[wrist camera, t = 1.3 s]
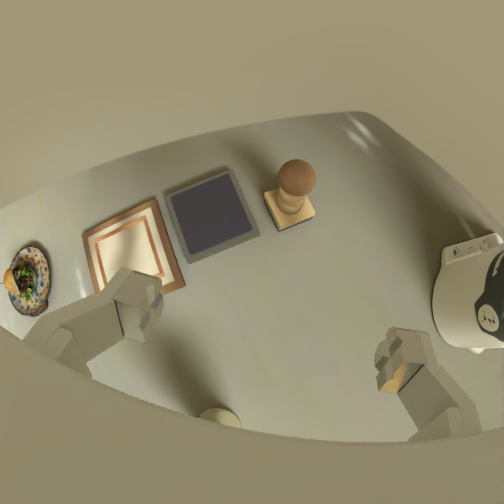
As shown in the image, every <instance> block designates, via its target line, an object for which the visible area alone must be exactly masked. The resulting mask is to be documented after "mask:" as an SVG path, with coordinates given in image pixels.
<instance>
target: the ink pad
mask: <svg viewBox="0 0 504 504" xmlns="http://www.w3.org/2000/svg"><path fill="white" fill-rule="evenodd" d="M165 198H166V201H167V204H168V207H169V210H170V213H171V216H172V219H173V222H174V225H175V228H176V231H177V234H178V237H179V240H180V243H181V246H182V249H183V251H184V254H185V257H186V260H187V262H188V263H189V264H191V263H194V262H196V261H199V260H201V259H203V258H206V257H208V256H211V255H213V254H216V253H218V252H221V251H223V250H225V249H228V248H230V247H233V246H235V245H238V244H240V243H243V242H245V241H248V240H250V239H253V238H255V237H257V236H260V232H259V229H258V227H257V225H256V222H255V220H254V218H253V216H252V213H251V211H250V209H249V206H248V204H247V202H246V200H245V197H244V195H243V193H242V191H241V188H240V186H239V184H238V182H237V179H236V177H235V175H234V173H233V170H232V169H230V170H227V171H225V172H222V173H219V174H217V175H214V176H212V177H209V178H207V179H204V180H202V181H199V182H197V183H194V184H192V185H190V186H187V187H185V188H183V189H180V190H178V191H175V192H173V193H171V194H169V195H166V196H165Z"/></svg>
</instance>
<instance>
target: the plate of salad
mask: <svg viewBox="0 0 504 504" xmlns="http://www.w3.org/2000/svg"><path fill="white" fill-rule="evenodd" d="M49 283H50V274H49V268H48V264H47V260H46V257H45V256H44V254H43V253H42V252H41V251H40V250H39V249H38V248H37V247H35V246H34V245H27V246H26V247H25V248H23V249H21V250H20V251H19V252H18V253H17V254H16V256H15V257H14V259H13V261H12V264H11V266H10V268H9V269H7V271H6V272H5V274H4V285H5V287H6V289H7V290H8V292H9V297H10V300H11V303H12V304H13V306H14V308H15V309H16V310H17V311H18V312H19V313H21V314H22V315H25V316H33V317H35V316H39V314H41V313H42V311H43V312H44V311H45V310H46V309H47V308H48V305H47V304H46V301H47V298H48V295H49V292H50V290H49ZM0 284H1V283H0Z"/></svg>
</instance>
